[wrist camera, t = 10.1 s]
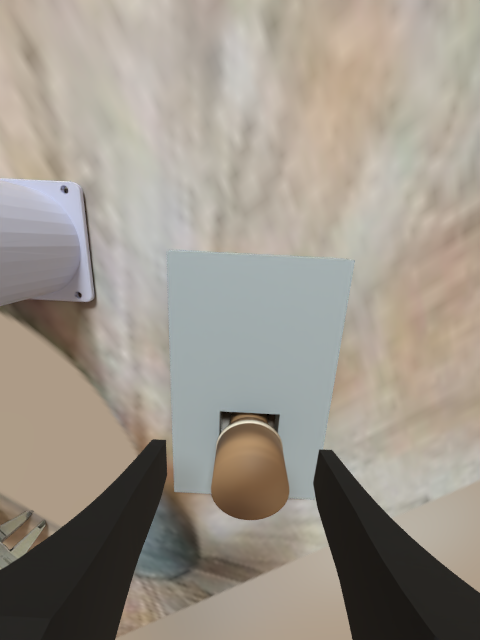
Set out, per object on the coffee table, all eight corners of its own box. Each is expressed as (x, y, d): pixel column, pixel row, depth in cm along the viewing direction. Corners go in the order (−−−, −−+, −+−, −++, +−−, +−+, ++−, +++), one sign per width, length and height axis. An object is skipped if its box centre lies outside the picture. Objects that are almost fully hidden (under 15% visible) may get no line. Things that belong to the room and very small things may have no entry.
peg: (208, 420, 23) (194, 492, 16) (246, 383, 22) (246, 444, 15) (251, 451, 23) (253, 532, 17) (289, 417, 22) (307, 489, 16)
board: (179, 472, 24) (174, 491, 22) (174, 250, 19) (166, 250, 17) (308, 479, 24) (314, 499, 22) (343, 258, 18) (354, 260, 17)
